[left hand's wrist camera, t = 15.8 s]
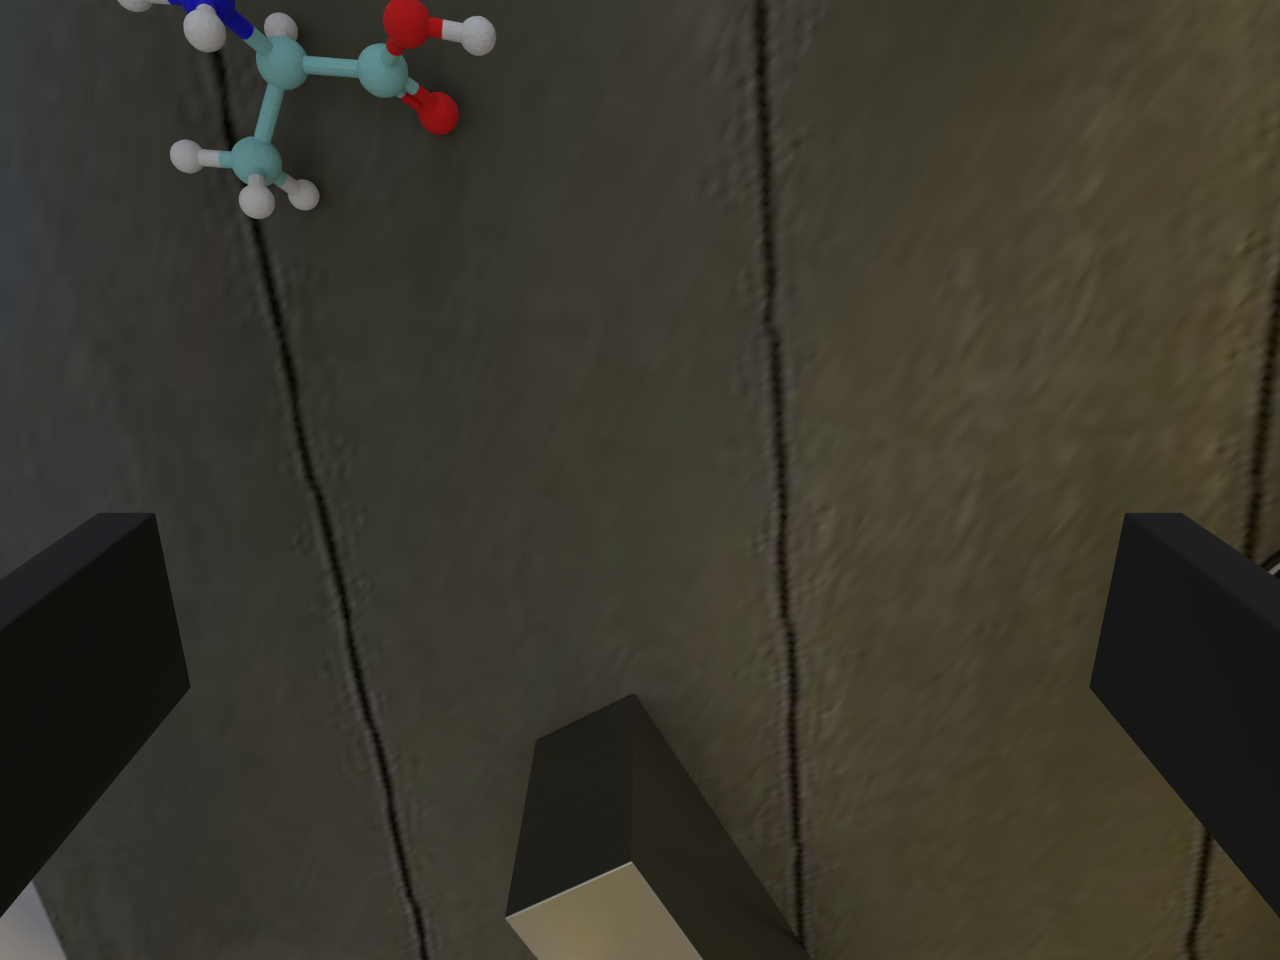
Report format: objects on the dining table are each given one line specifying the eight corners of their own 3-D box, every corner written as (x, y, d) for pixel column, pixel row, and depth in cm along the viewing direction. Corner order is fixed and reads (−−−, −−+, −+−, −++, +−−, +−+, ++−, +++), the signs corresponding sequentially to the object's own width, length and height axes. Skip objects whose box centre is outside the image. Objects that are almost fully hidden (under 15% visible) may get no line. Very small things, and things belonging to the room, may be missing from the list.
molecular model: (337, 333, 36) (176, 202, 26) (208, 189, 38) (18, 22, 29) (547, 141, 37) (463, -56, 27) (406, 12, 39) (283, -211, 29)
